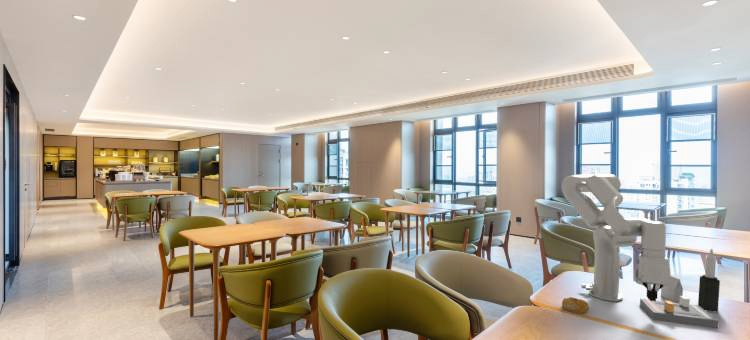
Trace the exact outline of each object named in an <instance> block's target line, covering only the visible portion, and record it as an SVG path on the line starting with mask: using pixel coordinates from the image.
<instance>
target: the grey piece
mask: <svg viewBox="0 0 750 340" xmlns="http://www.w3.org/2000/svg"><path fill="white" fill-rule="evenodd" d="M681 282H682V281H681V279H680V278H677V277H674V276H672V275H670V284H669V286H668V287H662V288H661V289H660V297H662V298H664V299H666V300H667V301H671V302H673V303H679V302H680V296H684V295H683V294H684V293H683V292H684V288H683V286H682V285H683V284H682V283H681Z"/></svg>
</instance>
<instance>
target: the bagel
mask: <svg viewBox="0 0 750 340" xmlns="http://www.w3.org/2000/svg"><path fill="white" fill-rule="evenodd" d="M561 306H562V308H563V309H565V311H568V312H571V313H573V314H577V315H578V314H579V315H584V314H587V313H588V312H589V310H590V305H589V303H588V302H587V301H585V300H583V299H581V298H576V297H571V296H570V297H564V298H563V299H562V302H561Z"/></svg>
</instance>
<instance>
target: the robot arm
mask: <svg viewBox="0 0 750 340" xmlns="http://www.w3.org/2000/svg"><path fill="white" fill-rule="evenodd" d="M621 185H622V184H621V180H620V179H619V177H618V176H616V175H615V174H611V173H608V174H607V173H606V174H605V173H603V174H600V173H599V174H598V173H597V174H572V175H568V176H566V177H564V178H563V180H562V182H561V191H562V194H563V196H564V198H565V199H566V201H567V202H568V203H569V204H570V205H571V206H572V207H573V208H574V210H575V211H576V212H577V214H578V215H579V217H580V218H581V219H582V221H584V223H585V224H586V226H588V227H589V228H592V229H594V231H593V235H592V239H593V244H594V245H593V246H594V265H593V266H594V267H593V268H594V271H593V282H591V283H589V284H585V283H581V289H585V290H586V291H589V292H588V293H589V295H590V296H592V297H594V298H596V299H598V300H602V301H607V302H620V301H622V300H623V297H624V296H623V295H622V294H621V293H620V292H619V291H620V288H619V287H620V275H621V274H620V272H621V271H620V269H621V256H620V253H619V252H618V249H617V248H624V247H625V248H626V247H632V246H633V245H635V244H636V242H637V239H638V237H641V238H640V239H641V240H640V248H637V249H636V253H639V254H638V258H637V262H636V268H635V278H636V279H635V283H636V284H638V285H641V286H644V288H646V298H647V299H648V300H650V301H657V299H658V292H659V291H660V290H661V288H662V287H668V286H669V284H670V276H671V269H670V268H671V266H670V262H669V258H668V257H666V237H667V235H666V234H667V226H666V224H665V222H663V221H657V220H650V219H647V218H643V217H624V216H623V215H622V214H621V212H619V211H618V210H617V208H618V207H619V206H620V205H621V204H622V202H623V201H624V197H623V195H622V194H621V193H620V191H619V190H620V189H621ZM585 193H591V194H592V195H593V196H594V197H595V198H596V200H597V201H598V202H599V203H600V204H601V205H602V207H601V206H598V205H597V204H596V203H595V202H594V201H593V200H592V198H591V197H590V196H588V195H587V194H585Z"/></svg>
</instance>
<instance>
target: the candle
mask: <svg viewBox="0 0 750 340" xmlns="http://www.w3.org/2000/svg"><path fill="white" fill-rule="evenodd" d="M713 251H714V249H712V248H711V249H710V250H709V253H708V255H706V259H705V269H704V270H705V274H702V275H701V276H700V275H699V287H698V301H697V305H698V306H700V307H701V308H702V309H704V310H705V311H706V312H708V311H709V312H715V313H716V312H719V301H720V300H719V299H720V298H719V297H720V285H721V280H719V279H718V277H717V276H716V266H717V265H716V263H717V258H716V256H715V255H714V252H713Z"/></svg>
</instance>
